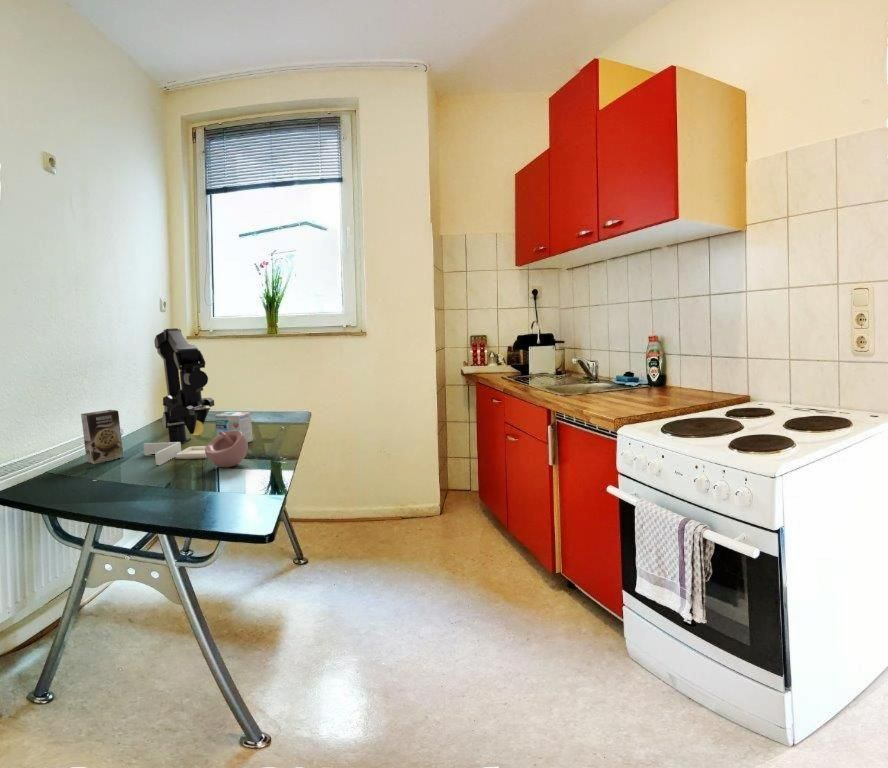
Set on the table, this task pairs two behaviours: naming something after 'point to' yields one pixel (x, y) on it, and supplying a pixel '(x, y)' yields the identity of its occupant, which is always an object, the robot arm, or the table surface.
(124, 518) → the table surface
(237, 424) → the light bulb box
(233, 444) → the pink slanted bowl
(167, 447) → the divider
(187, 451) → the tray
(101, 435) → the brown upright rectangular box
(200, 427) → the ball
